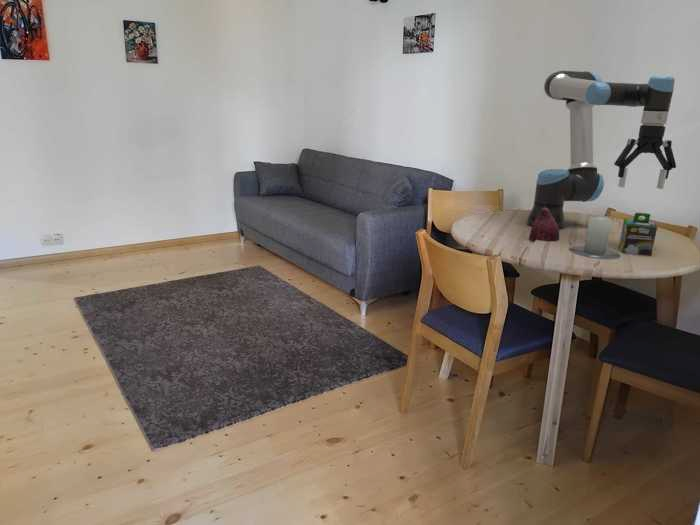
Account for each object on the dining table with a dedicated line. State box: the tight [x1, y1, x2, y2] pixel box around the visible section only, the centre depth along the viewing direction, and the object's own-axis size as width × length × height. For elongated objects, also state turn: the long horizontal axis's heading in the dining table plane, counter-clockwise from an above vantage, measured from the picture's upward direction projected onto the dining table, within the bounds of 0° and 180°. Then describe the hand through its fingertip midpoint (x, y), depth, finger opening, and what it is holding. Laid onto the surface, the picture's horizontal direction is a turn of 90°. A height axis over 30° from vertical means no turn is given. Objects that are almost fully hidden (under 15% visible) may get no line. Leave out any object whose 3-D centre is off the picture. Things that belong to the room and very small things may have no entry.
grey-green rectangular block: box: [584, 215, 612, 255], centre depth 174 cm, size 7×7×12 cm
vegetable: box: [528, 206, 560, 243], centre depth 190 cm, size 10×10×15 cm
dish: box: [568, 245, 621, 260], centre depth 176 cm, size 16×16×1 cm
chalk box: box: [618, 212, 658, 257], centre depth 177 cm, size 9×9×15 cm
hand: (640, 187), depth 181 cm, fingers open, 13 cm apart
